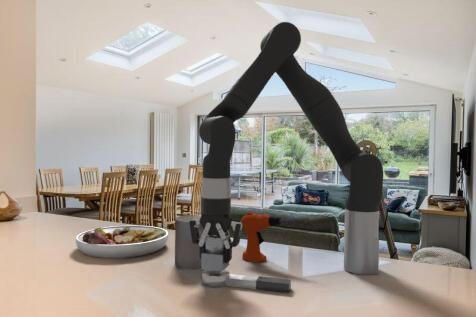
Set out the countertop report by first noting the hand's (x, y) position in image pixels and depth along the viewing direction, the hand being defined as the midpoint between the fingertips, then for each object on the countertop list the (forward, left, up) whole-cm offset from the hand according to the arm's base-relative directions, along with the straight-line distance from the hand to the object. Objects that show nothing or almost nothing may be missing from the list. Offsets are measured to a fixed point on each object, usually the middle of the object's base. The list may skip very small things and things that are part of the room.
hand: (215, 261), depth 100 cm
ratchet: (-8, 0, -5) cm, 10 cm away
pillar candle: (+12, -13, -6) cm, 18 cm away
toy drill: (-9, -22, -6) cm, 24 cm away
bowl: (+41, -23, -6) cm, 47 cm away
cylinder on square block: (0, 0, -1) cm, 1 cm away
